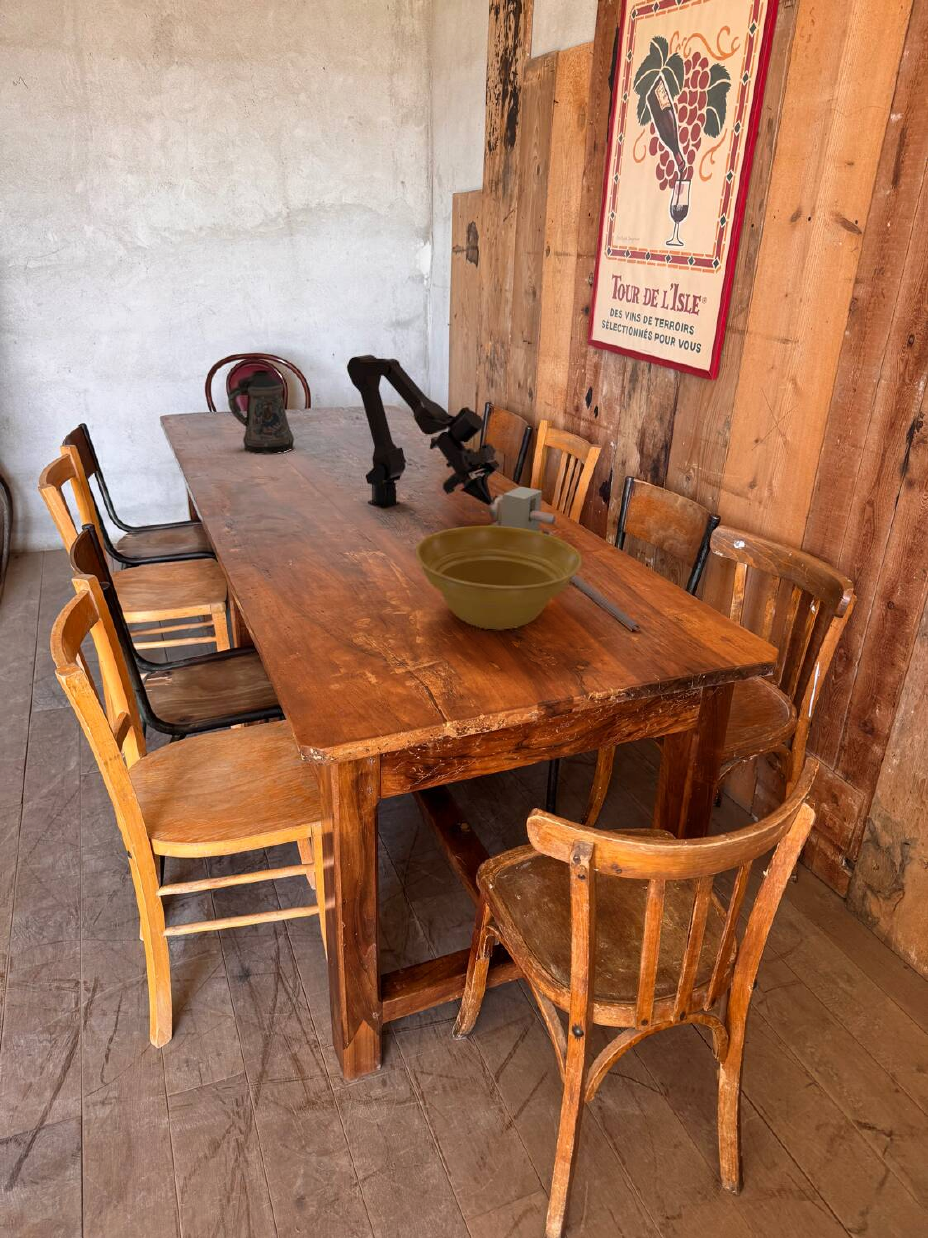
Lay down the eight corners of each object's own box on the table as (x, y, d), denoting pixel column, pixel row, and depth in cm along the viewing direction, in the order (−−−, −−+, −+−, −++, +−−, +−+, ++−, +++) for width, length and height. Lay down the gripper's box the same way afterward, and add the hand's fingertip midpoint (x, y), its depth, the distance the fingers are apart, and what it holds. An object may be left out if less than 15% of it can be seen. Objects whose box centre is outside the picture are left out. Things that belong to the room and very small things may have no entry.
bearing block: (479, 534, 211) (481, 489, 206) (498, 525, 218) (500, 481, 213) (535, 548, 203) (539, 502, 198) (553, 538, 210) (556, 493, 205)
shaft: (489, 520, 210) (490, 497, 207) (501, 515, 214) (503, 492, 212) (545, 534, 202) (547, 510, 199) (557, 528, 206) (559, 504, 204)
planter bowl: (603, 643, 158) (611, 577, 152) (437, 661, 149) (439, 592, 143) (541, 579, 185) (545, 521, 180) (397, 591, 177) (398, 530, 171)
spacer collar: (497, 522, 209) (498, 502, 207) (508, 517, 213) (509, 497, 211) (504, 524, 208) (505, 504, 206) (515, 519, 212) (516, 499, 210)
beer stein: (304, 447, 284) (301, 371, 273) (263, 458, 269) (257, 378, 258) (268, 440, 292) (263, 365, 281) (226, 450, 277) (219, 372, 266)
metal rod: (575, 581, 186) (576, 572, 185) (639, 632, 163) (640, 623, 162) (567, 581, 186) (568, 573, 185) (630, 634, 163) (631, 624, 162)
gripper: (454, 440, 200) (491, 494, 199) (495, 427, 214) (530, 478, 213) (426, 467, 207) (462, 519, 206) (468, 453, 221) (501, 502, 220)
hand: (490, 504), depth 211 cm, fingers closed
